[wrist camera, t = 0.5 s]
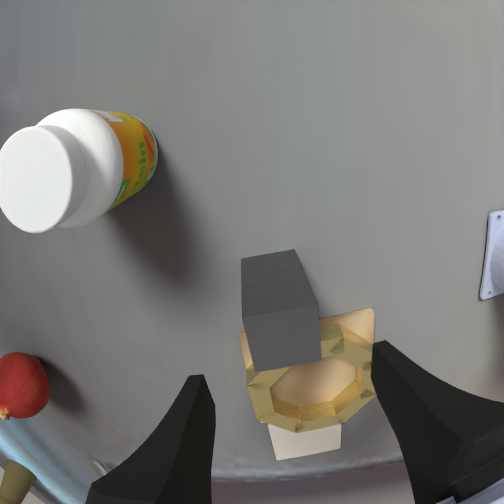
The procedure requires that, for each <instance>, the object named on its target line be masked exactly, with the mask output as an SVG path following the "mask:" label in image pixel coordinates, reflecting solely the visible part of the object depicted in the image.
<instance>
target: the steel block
mask: <svg viewBox="0 0 504 504" xmlns="http://www.w3.org/2000/svg"><path fill="white" fill-rule="evenodd" d="M241 282H242V320H243V324H244V328H245V333H246V337H247V341H248V345H249V350H250V354H251V358H252V362H253V366H254V371H255V372H262V371H268V370H274V369H280V368H286V367H291V366H297V365H302V364H307V363H312V362H317V361H322V353H321V338H320V325H319V313H318V303H317V301H316V299H315V296H314V294H313V292H312V289H311V287H310V284H309V282H308V280H307V277H306V275H305V273H304V270H303V268H302V266H301V263H300V261H299V259H298V257H297V254H296V252H295V250H294V249H293V250H288V251H282V252H276V253H271V254H265V255H259V256H254V257H248V258H242V259H241Z"/></svg>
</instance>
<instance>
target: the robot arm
mask: <svg viewBox="0 0 504 504" xmlns="http://www.w3.org/2000/svg"><path fill="white" fill-rule="evenodd" d="M497 217H498V218H497ZM501 293H504V210H500V211H495V212H492V213H491V214H490V215H489V220H488V234H487V245H486V254H485V262H484V270H483V277H482V283H481V289H480V298H481V299H482V300H485V299H488V298H491V297H493V296H496V295H499V294H501ZM371 380H372V383H373V386H374V389H375V392H376V395H377V398H378V400H379V402H380V404H381V406H382V408H383V410H384V412H385V414H386V416H387V418H388V420H389V422H390V424H391V426H392V428H393V430H394V432H395V434H396V437H397V439H398V442H399V445H400V448H401V451H402V454H403V457H404V460H405V464H406V467H407V471H408V474H409V478H410V482H411V486H412V490H413V495H414V500H415V504H504V403H503V402H498V401H493V400H489V399H486V398H482V397H479V396H476V395H473V394H470V393H468V392H465V391H463V390H460V389H458V388H456V387H454V386H452V385H450V384H448V383H446V382H444V381H442V380H440V379H438V378H437V377H435V376H434V375H432V374H430V373H429V372H427V371H426V370H424V369H423V368H421V367H420V366H419V365H417V364H416V363H414V362H413V361H412V360H410V359H409V358H408V357H406V356H405V355H404V354H403V353H401V352H400V351H399V350H398V349H396V348H395V347H394V346H393V345H391V344H390V343H389V342H387V341H386V340H385V341H381V342H377V343H373V347H372V364H371ZM215 428H216V415H215V404H214V401H213V399H212V396H211V393H210V391H209V388H208V386H207V383H206V380H205V378H204V375H203V374H201V375H191V376H189V377H188V378H187V380H186V382H185V384H184V385H183V387H182V389H181V391H180V393H179V394H178V396H177V398H176V399H175V401H174V403H173V404H172V406H171V407H170V409H169V410H168V412H167V414H166V415H165V416H164V418H163V419H162V421H161V422H160V423H159V425H158V426H157V427H156V429H155V430H154V431H153V433H152V434H151V435H150V436H149V437H148V438H147V440H146V441H145V442H144V443H143V444H142V445H141V446H140V447H139V448H138V449H137V450H136V451H135V452H134V453H133V454H132V455H131V456H130V457H129V458H127V459H126V460H125V461H124V462H123V463H121V464H120V465H119V466H117V467H116V468H115V469H113V470H112V471H111V472H109V473H108V474H106V475H104V476H103V477H101V478H100V479H98V480H96V481H95V482H93V483H92V484H91V487H90V489H89V492H88V496H87V500H86V504H212V500H211V466H212V456H213V447H214V438H215Z"/></svg>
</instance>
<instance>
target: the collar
mask: <svg viewBox="0 0 504 504" xmlns="http://www.w3.org/2000/svg"><path fill="white" fill-rule="evenodd" d="M320 338H321V353H322V358H324V357H328V356H333V355H336V356H338V357H340V358H342V359H344V360H346V361H348V362H349V363H351V364H353V365H355V380H354V381H353V382H351V383H350V384H349V385H348V386H347V387H346V388H345V389H344V390H343V391H342V392H340V393H339V394H338V395H337V396H336V397H335V398H334V399H333V400H331V401H326V402H322V403H317V404H312V405H307V406H302V407H298V406H295V405H293V404H290V403H288V402H285V401H283V400H280V399H278V398H276V397H273V396H272V392H271V386H272V385H273V384H274V383H275V382H276V381H277V380H278V379H279V378H280V377H281V376H282V375H283V374H284V373H285V372H286V371H287V370H288V369H289V368H290V367H286V368H280V369H274V370H268V371H262V372H255V371H254V366H253V363H252V364H251V365H250V366H249V367H248V368H247V369H246V370H247V386H248V390H249V394H250V397H251V401H252V404H253V408H254V411H255V415H256V419H258V420H260V421H263V422H265V423H268V424H271V425H274V426H276V427H279V428H282V429H285V430H288V431H291V432H294V433H300V432H305V431H311V430H316V429H321V428H325V427H330V426H334V425H339V424H343V423H344V422H345V421H347V420H348V419H349V418H350V417H352V416H353V415H354V414H355V413H356V412H358V411H359V410H360V409H361V408H362V407H364V406H365V405H366V404H367V403H368V402H369V401H370V400H372V399H373V398H374V397H375V396H376V392H375V389H374V386H373V383H372V380H371V364H372V347H373V344H372V343H371V342H369V341H367V340H366V339H364V338H362V337H361V336H359V335H357V334H356V333H354V332H352V331H351V330H349V329H348V328H346V327H344V326H343V325H341V324H339V323H338V322H335V323H330V324H325V325H320Z"/></svg>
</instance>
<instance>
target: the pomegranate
mask: <svg viewBox="0 0 504 504" xmlns="http://www.w3.org/2000/svg"><path fill="white" fill-rule="evenodd" d="M49 397H50V383H49V380H48V377H47V374H46V372H45V370H44V368H43V367H42V364H41V362H40V360H39V359H38V358H36V357H33V356H31V355H28V354H25V353H21V352H14V353H9V354H6V355H4V356H3V357H2V358H1V359H0V417H1V418H2V419H5V420H9V419H10V418H9V417H10V416H11V417H15V418H29V417H32V416H34V415H36V414H37V413H39V412H40V411H41V410H42V409H44V407H45V406H46V404H47V403H48V400H49Z"/></svg>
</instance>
